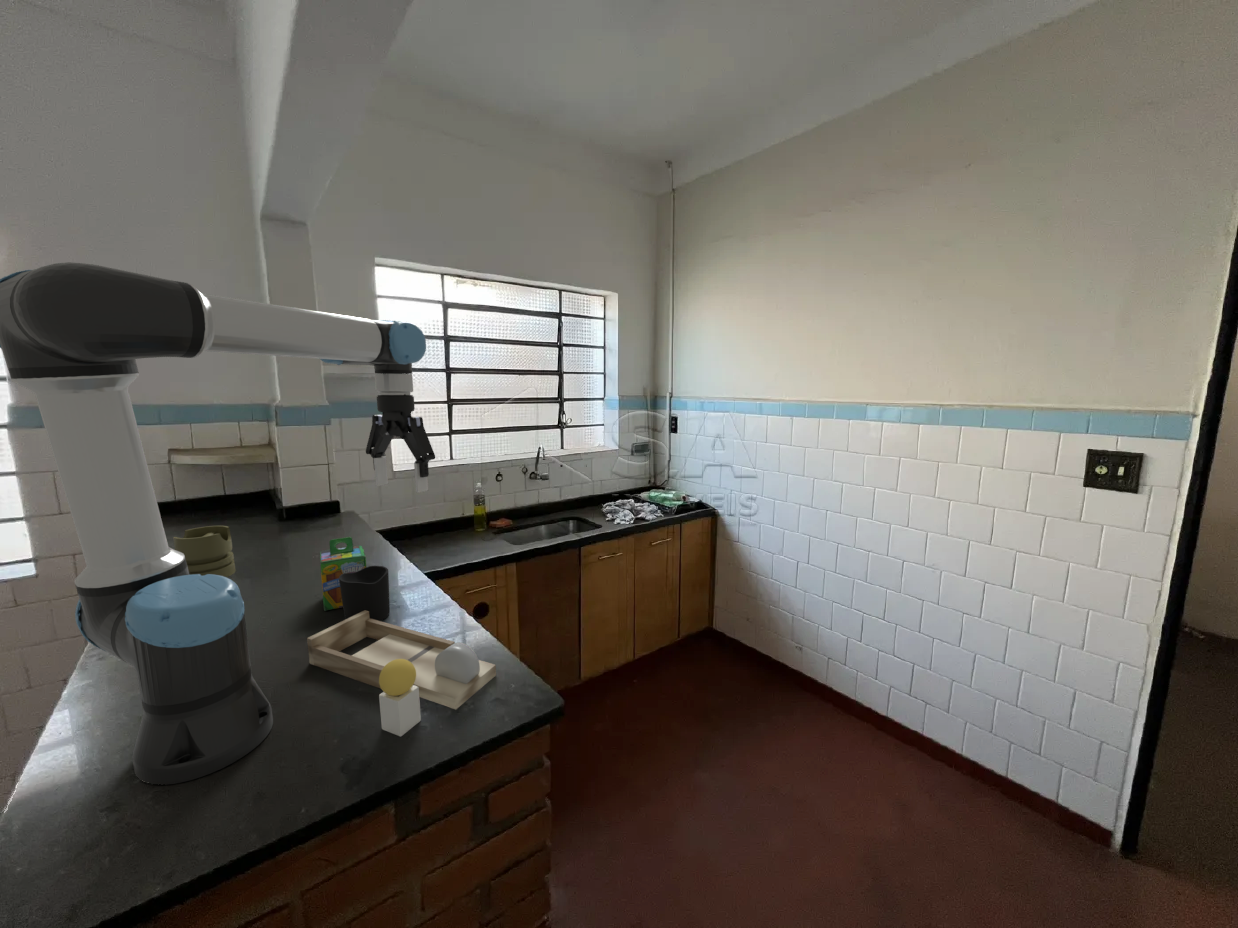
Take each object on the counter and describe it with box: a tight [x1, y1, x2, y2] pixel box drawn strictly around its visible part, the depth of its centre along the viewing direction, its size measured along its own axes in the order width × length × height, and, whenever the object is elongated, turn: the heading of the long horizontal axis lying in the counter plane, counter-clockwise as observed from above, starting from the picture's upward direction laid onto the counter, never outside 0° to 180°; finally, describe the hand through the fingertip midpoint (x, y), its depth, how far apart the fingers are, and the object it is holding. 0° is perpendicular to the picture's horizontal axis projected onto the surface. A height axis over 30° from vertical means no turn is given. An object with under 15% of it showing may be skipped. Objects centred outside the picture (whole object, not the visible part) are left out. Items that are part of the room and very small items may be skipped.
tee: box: [378, 685, 422, 737], centre depth 73 cm, size 4×4×6 cm
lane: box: [306, 610, 497, 710], centre depth 88 cm, size 12×33×5 cm, turn 66°
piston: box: [173, 525, 236, 578], centre depth 129 cm, size 11×12×11 cm
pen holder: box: [339, 565, 390, 622], centre depth 106 cm, size 9×9×10 cm
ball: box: [379, 659, 416, 696], centre depth 73 cm, size 5×5×5 cm
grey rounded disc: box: [435, 642, 480, 684], centre depth 83 cm, size 3×7×7 cm, turn 66°
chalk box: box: [319, 536, 367, 612], centre depth 114 cm, size 9×9×15 cm
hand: (401, 488), depth 112 cm, fingers open, 13 cm apart
